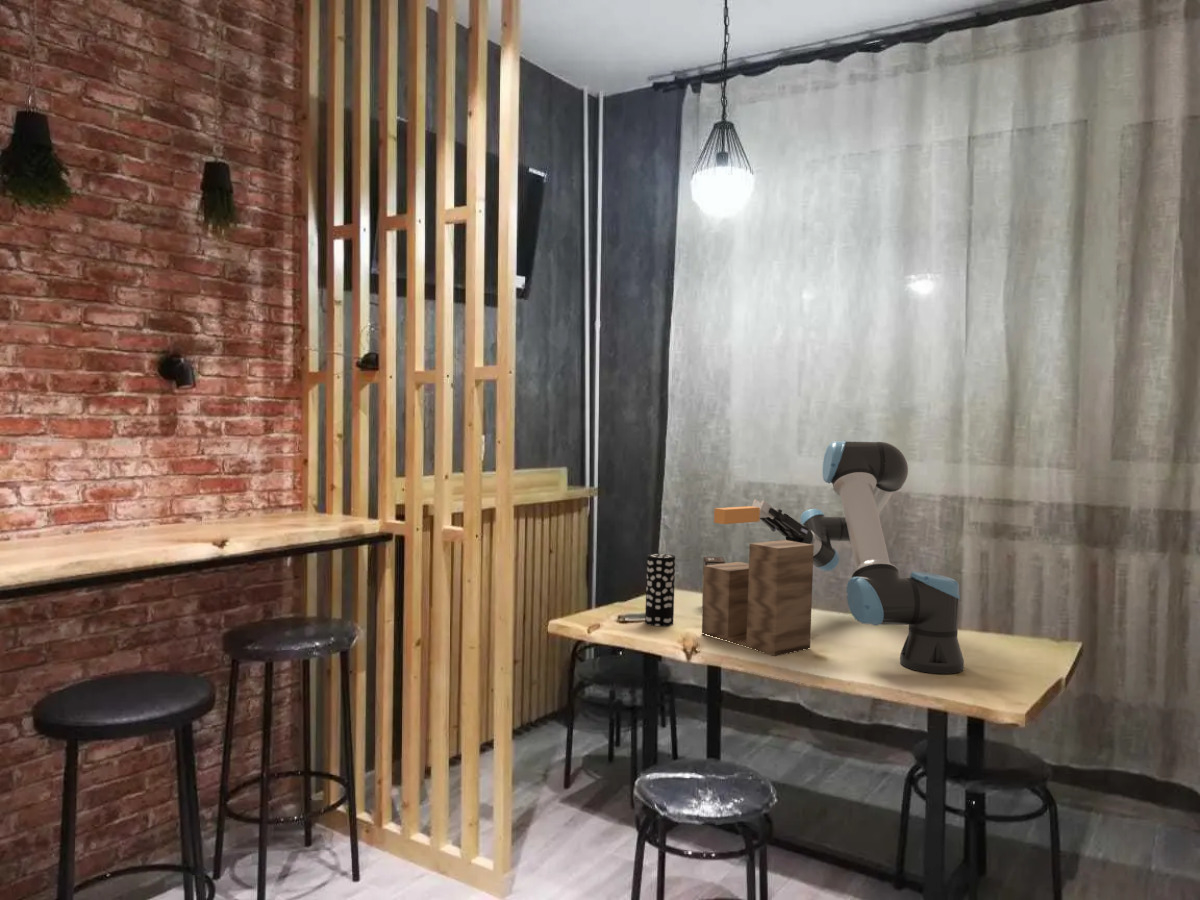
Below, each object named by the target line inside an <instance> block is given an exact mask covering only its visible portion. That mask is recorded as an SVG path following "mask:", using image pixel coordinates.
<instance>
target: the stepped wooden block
mask: <svg viewBox="0 0 1200 900" xmlns="http://www.w3.org/2000/svg"><path fill="white" fill-rule="evenodd" d="M813 551H814V545H812V544H806V543H800V542H794V541H788V540H786V539H782V540H772V541H771V540H770V541H762V542H760V541H759V542H753V543H752V542H751V543H749V553H748V563H746V562H741V561H735V562H725V563H724V564H715V565H706V566H704V580H703V579H702V596H703V606H702V618H701V619H702V621H701V622H702V623H701V634H702V633H704V634H707V635H710V636H713V637H717V638H720V639H723V640H727V641H730V642H733V643H736V644H739V645H743V646H746V647H749V648H752V649H756V650H758V651H757V652H759V651H761V652H760V653H762V652H764V653H763V654H766V653H767V654H766V655H769V654H770V656H772V655H773V657H776V656H777V657H778V656H783V655H787V654H790V652H792V653H795V652H794V651H797V652H800V651H799V650H802V651H804V650H803V649H806V650H809V649H808V648H810V649H811V630H812V607H813V606H812V605H813V603H812V602H813V601H812V600H813V576H814V575H813V573H814V572H813V571H814V570H813V569H814V564H813ZM739 645H738V646H739ZM746 647H745V648H746ZM749 648H748V649H749ZM752 649H751V650H752ZM756 650H755V651H756ZM786 653H787V654H786ZM782 654H783V655H782Z"/></svg>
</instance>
